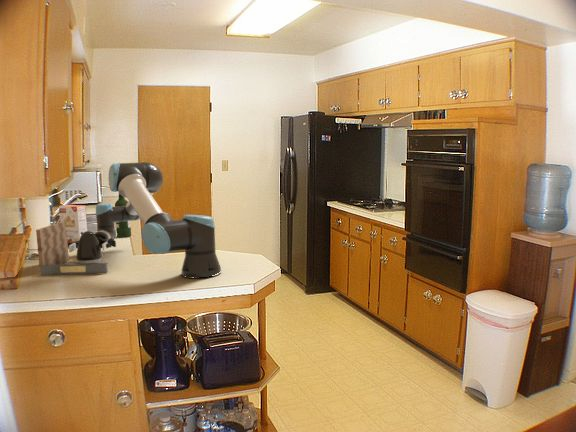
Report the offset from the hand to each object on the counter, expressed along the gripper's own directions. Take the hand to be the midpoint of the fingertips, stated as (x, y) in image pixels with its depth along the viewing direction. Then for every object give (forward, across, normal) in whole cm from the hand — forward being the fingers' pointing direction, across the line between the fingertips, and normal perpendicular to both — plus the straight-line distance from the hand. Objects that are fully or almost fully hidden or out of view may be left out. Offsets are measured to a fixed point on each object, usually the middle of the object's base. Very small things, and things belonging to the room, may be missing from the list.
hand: (86, 248), depth 213 cm
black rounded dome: (-3, 0, -8) cm, 9 cm away
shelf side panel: (-4, +15, -8) cm, 17 cm away
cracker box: (-60, +24, -8) cm, 65 cm away
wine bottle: (-78, +2, -8) cm, 79 cm away
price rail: (+11, +2, -8) cm, 14 cm away
